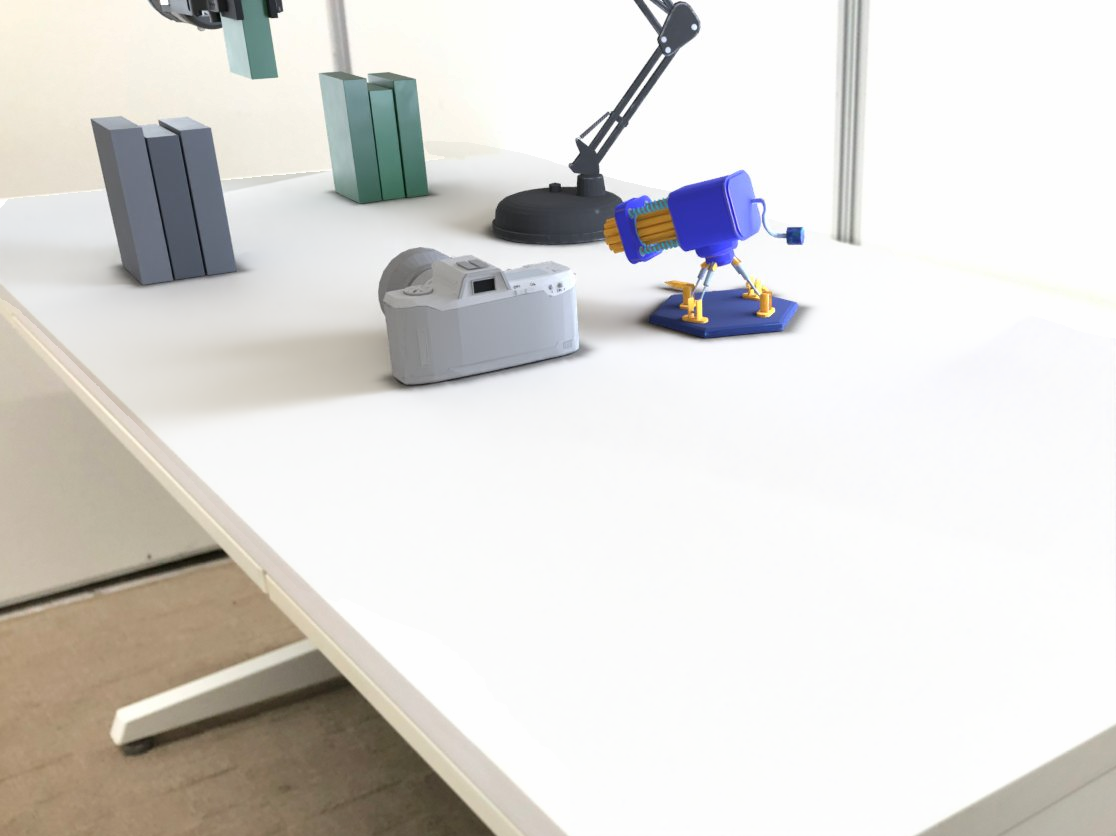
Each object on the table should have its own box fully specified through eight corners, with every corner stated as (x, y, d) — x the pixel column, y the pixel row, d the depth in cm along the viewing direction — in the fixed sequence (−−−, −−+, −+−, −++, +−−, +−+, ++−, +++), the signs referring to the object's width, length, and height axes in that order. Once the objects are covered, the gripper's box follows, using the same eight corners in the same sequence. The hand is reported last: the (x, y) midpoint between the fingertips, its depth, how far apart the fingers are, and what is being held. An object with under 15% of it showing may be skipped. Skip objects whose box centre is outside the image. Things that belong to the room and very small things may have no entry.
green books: (335, 191, 168) (318, 72, 162) (402, 183, 173) (388, 67, 166) (359, 203, 162) (342, 80, 155) (429, 194, 166) (415, 74, 160)
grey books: (122, 266, 134) (90, 118, 128) (213, 253, 139) (186, 110, 132) (142, 285, 128) (109, 130, 121) (237, 271, 132) (210, 121, 126)
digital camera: (535, 359, 118) (550, 247, 115) (587, 400, 107) (605, 278, 103) (346, 342, 111) (357, 223, 107) (380, 385, 99) (392, 252, 96)
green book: (229, 72, 154) (206, -59, 148) (255, 70, 156) (233, -60, 149) (251, 79, 147) (228, -58, 141) (278, 77, 149) (257, -58, 142)
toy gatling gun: (701, 276, 129) (698, 144, 124) (842, 310, 118) (846, 167, 112) (590, 306, 120) (582, 166, 114) (732, 347, 109) (731, 193, 103)
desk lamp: (394, 238, 145) (334, -233, 125) (546, 197, 164) (516, -217, 144) (564, 266, 133) (528, -250, 113) (706, 218, 152) (698, -229, 132)
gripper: (271, 24, 167) (332, 37, 149) (139, 31, 159) (186, 46, 141) (261, -41, 163) (322, -34, 146) (125, -37, 155) (172, -29, 138)
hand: (255, 5), depth 144 cm, fingers closed on green book, 3 cm apart
